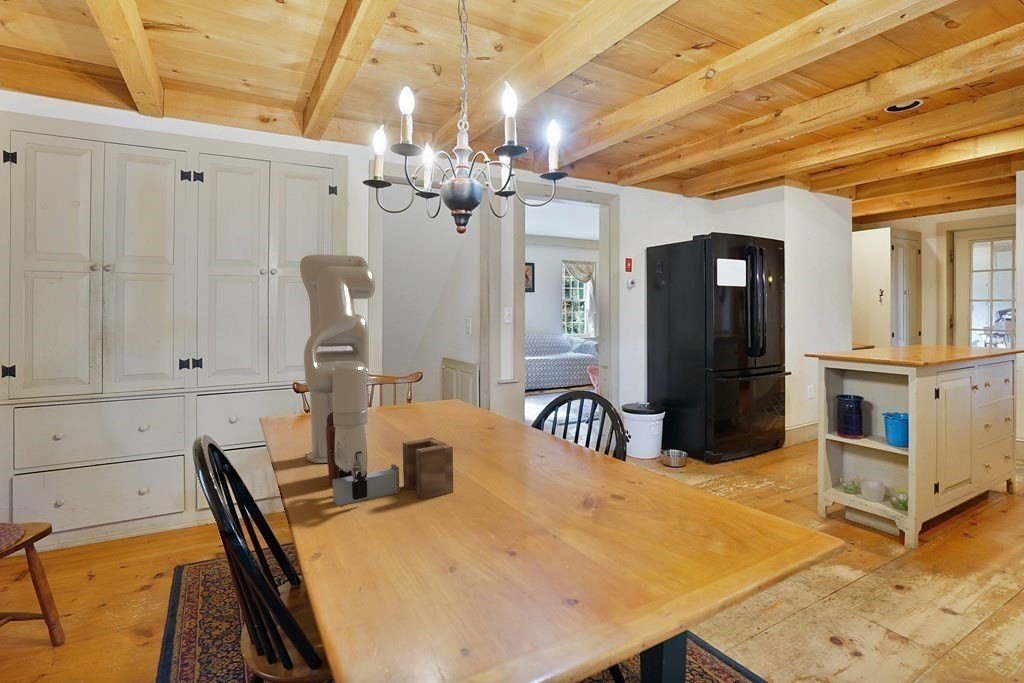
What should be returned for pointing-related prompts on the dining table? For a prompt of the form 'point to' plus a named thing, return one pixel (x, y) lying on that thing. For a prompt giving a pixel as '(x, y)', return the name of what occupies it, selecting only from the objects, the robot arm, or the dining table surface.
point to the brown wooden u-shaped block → (428, 467)
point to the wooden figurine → (331, 448)
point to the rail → (376, 485)
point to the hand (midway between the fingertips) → (353, 492)
